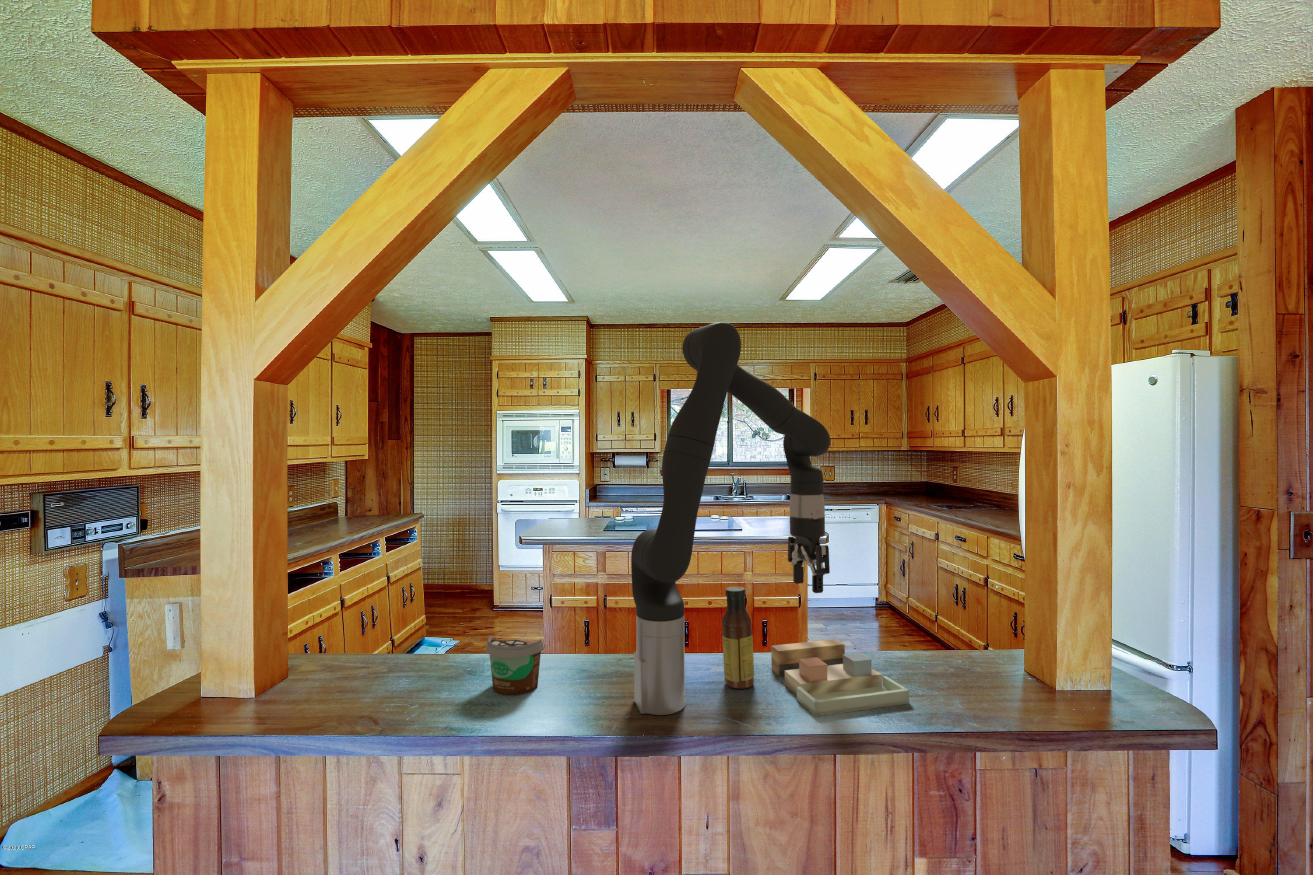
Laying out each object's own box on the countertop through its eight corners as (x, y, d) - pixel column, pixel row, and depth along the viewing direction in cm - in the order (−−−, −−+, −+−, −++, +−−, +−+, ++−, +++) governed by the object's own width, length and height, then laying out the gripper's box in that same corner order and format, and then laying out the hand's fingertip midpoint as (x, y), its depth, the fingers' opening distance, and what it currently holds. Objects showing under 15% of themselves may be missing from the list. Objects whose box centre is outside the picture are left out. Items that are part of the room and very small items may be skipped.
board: (801, 699, 113) (801, 683, 113) (784, 684, 120) (784, 670, 120) (881, 688, 118) (881, 674, 118) (861, 675, 125) (861, 661, 125)
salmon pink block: (809, 681, 114) (809, 666, 114) (799, 673, 118) (799, 659, 118) (827, 679, 115) (827, 664, 115) (816, 671, 119) (816, 657, 119)
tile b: (854, 676, 117) (854, 661, 117) (843, 668, 121) (842, 654, 121) (871, 674, 118) (871, 659, 118) (859, 666, 122) (859, 652, 122)
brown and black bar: (779, 677, 124) (779, 651, 124) (771, 670, 128) (771, 645, 128) (846, 670, 128) (846, 645, 128) (836, 663, 132) (836, 639, 132)
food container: (474, 694, 116) (473, 644, 117) (490, 682, 122) (489, 634, 123) (530, 700, 114) (530, 649, 114) (544, 687, 120) (544, 639, 120)
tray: (815, 716, 106) (815, 702, 106) (796, 699, 113) (796, 687, 113) (909, 703, 111) (909, 690, 111) (886, 688, 118) (886, 676, 118)
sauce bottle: (753, 678, 124) (752, 584, 124) (755, 690, 117) (754, 592, 118) (722, 677, 124) (721, 584, 124) (722, 689, 118) (722, 591, 118)
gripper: (777, 511, 135) (777, 581, 135) (807, 519, 121) (808, 597, 121) (806, 510, 137) (807, 579, 137) (840, 517, 123) (840, 594, 123)
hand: (807, 587), depth 129 cm, fingers open, 8 cm apart
